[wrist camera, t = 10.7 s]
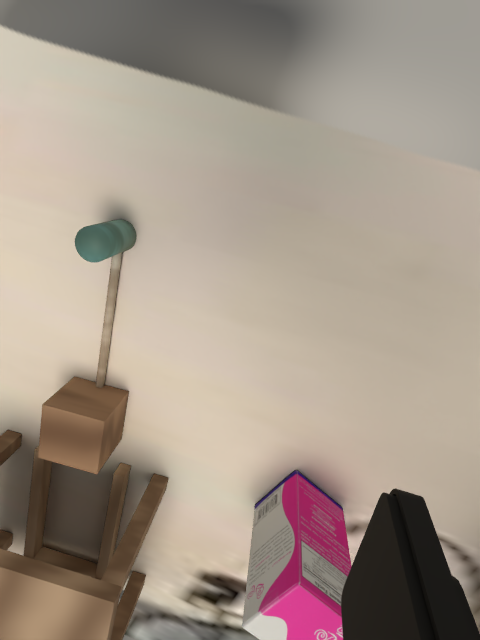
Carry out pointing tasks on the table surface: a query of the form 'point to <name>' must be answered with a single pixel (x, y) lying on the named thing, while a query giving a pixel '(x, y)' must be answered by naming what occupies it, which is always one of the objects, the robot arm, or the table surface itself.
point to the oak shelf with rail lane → (72, 567)
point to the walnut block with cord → (83, 395)
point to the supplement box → (296, 564)
